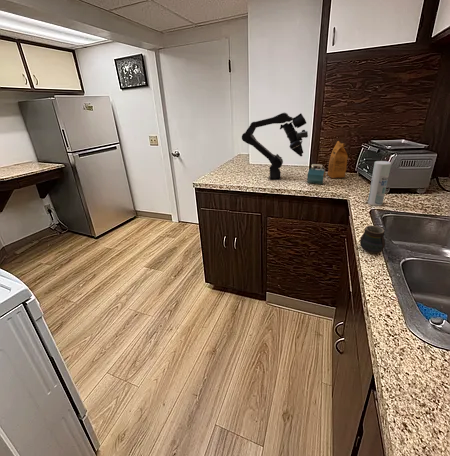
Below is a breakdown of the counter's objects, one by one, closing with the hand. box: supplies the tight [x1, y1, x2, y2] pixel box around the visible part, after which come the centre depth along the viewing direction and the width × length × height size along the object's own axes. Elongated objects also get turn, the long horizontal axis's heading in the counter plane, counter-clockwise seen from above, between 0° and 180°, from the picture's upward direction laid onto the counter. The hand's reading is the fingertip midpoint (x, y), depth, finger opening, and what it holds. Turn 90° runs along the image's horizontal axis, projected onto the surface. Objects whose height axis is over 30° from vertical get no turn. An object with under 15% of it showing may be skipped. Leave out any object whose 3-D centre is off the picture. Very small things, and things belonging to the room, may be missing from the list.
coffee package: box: [327, 140, 349, 179], centre depth 158 cm, size 10×12×22 cm
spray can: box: [367, 160, 392, 207], centre depth 115 cm, size 6×6×20 cm
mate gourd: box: [359, 224, 386, 254], centre depth 82 cm, size 7×8×10 cm
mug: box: [306, 163, 327, 185], centre depth 150 cm, size 9×8×12 cm
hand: (302, 154), depth 153 cm, fingers open, 9 cm apart
